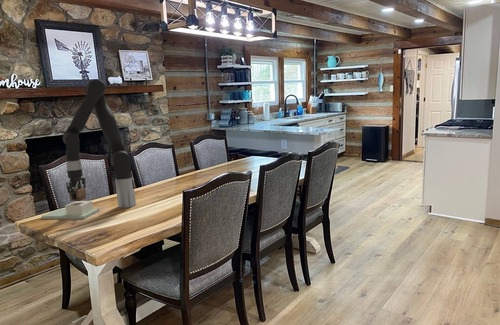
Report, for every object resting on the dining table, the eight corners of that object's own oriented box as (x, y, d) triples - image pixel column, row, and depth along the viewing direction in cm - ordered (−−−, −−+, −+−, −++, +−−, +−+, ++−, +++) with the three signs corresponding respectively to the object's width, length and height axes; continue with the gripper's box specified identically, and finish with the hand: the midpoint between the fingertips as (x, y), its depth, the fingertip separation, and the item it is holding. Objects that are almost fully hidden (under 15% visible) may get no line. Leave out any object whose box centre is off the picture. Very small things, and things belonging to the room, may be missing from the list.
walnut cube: (86, 198, 215) (85, 188, 214) (79, 201, 209) (78, 190, 208) (76, 198, 216) (75, 188, 215) (70, 201, 210) (68, 190, 209)
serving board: (99, 211, 218) (98, 208, 218) (84, 219, 205) (84, 216, 204) (58, 211, 223) (58, 208, 223) (42, 218, 210) (41, 216, 209)
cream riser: (93, 209, 218) (92, 200, 217) (82, 214, 208) (81, 205, 207) (77, 209, 219) (76, 200, 219) (66, 214, 210) (65, 205, 209)
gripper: (72, 171, 202) (76, 201, 205) (88, 166, 216) (91, 195, 219) (59, 171, 203) (63, 201, 206) (76, 166, 217) (80, 195, 220)
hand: (78, 198), depth 212 cm, fingers closed on walnut cube, 6 cm apart
